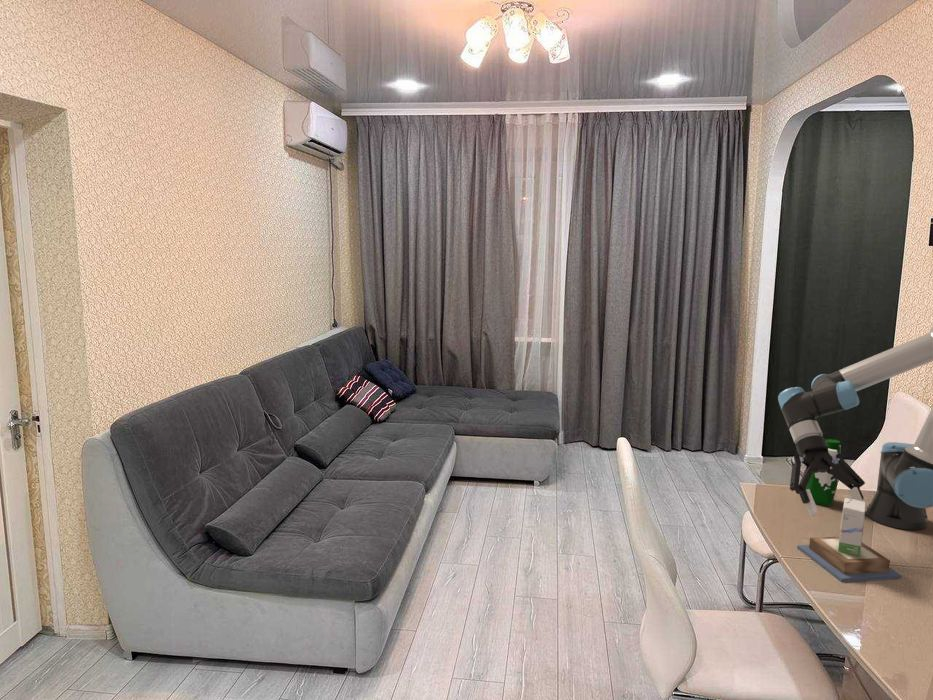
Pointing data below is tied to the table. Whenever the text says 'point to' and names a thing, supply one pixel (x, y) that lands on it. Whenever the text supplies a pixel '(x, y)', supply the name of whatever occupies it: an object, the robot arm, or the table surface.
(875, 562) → the walnut plinth
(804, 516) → the table surface
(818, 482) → the milk carton
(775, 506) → the table surface
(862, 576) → the board
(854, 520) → the ink box
